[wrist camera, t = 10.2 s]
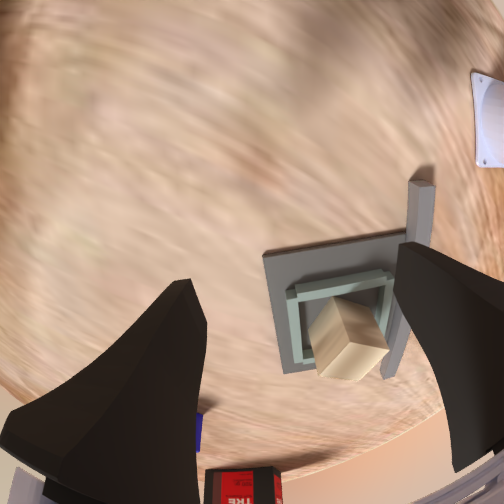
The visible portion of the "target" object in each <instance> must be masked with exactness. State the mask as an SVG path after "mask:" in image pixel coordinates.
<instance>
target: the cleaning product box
mask: <svg viewBox="0 0 504 504" xmlns="http://www.w3.org/2000/svg"><path fill="white" fill-rule="evenodd" d="M204 487H205V488H204V504H283V499H282V485H281V473H280V472H279V471H278V470H277V469H276V468H274V467H273V466H270V467H260V468H247V469H222V470H206V471H205V486H204Z"/></svg>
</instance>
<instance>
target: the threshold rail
mask: <svg viewBox="0 0 504 504" xmlns="http://www.w3.org/2000/svg"><path fill="white" fill-rule="evenodd" d="M434 202H435V185H433V184H431V183H429V182H427V181H425V180H417V181H408V210H407V225H406V237H405V242H411V241H414V242H417V243H420V244H422V245H425V246H427V247H429V246H430V239H431V231H432V223H433V213H434ZM410 330H411V327H410V326H409V324H408V322H407V320H406V319H405V317H404V315H403V313H402V311H401V309H400V307H399V304H398V302H397V301H396V306H395V311H394V316H393V320H392V325H391V329H390V333H389V337H388V341H387V345H388V347H389V349H390V351H389V352H388V353H387V354H386V355H385V356H384V357H383V360H382V363H381V367H380V373H381V375H382V378H383V380H384V379H387V378H391V377H394V376H395V374H396V371H397V369H398V366H399V363H400V361H401V358H402V355H403V352H404V349H405V346H406V343H407V340H408V337H409V334H410Z"/></svg>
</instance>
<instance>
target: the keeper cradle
mask: <svg viewBox="0 0 504 504" xmlns="http://www.w3.org/2000/svg"><path fill="white" fill-rule="evenodd" d="M405 237H406V234H405V233H404V232H399V233H393V234H387V235H381V236H375V237H369V238H363V239H357V240H351V241H346V242H340V243H334V244H328V245H322V246H316V247H309V248H303V249H297V250H291V251H285V252H279V253H273V254H267V255H262V257H263V263H264V268H265V274H266V279H267V285H268V290H269V296H270V301H271V307H272V312H273V318H274V323H275V329H276V335H277V340H278V346H279V352H280V357H281V363H282V369H283V374H288V373H295V372H301V371H306V370H312V369H317V368H316V363H315V359H314V354H313V350H312V346H311V341H310V337H309V333H308V329H309V327H310V326H311V325H312V323H313V322H314V321H315V319H316V318H317V317H318V315H319V314H320V312H321V311H322V310H323V308H324V307H325V305H326V304H327V303H328V301H329V300H330V298H331V297H332V296H335V297H338V298H341V299H345V300H348V301H351V302H354V303H357V304H360V305H363V306H366V307H369V308H370V310H371V312H372V314H373V316H374V318H375V320H376V322H377V324H378V326H379V328H380V330H381V332H382V334H383V336H384V338H385V341H386V343H387V341H388V337H389V333H390V329H391V325H392V320H393V316H394V311H395V306H396V301H397V300H396V297H395V295H394V292H393V286H394V279H395V272H396V264H397V255H398V246H399V244H400V243H405Z"/></svg>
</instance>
